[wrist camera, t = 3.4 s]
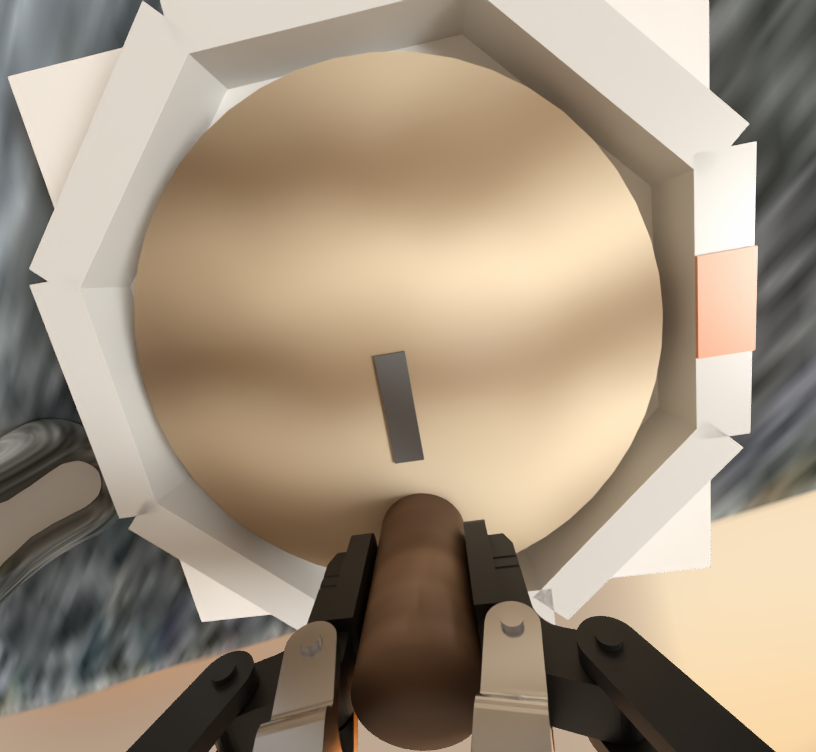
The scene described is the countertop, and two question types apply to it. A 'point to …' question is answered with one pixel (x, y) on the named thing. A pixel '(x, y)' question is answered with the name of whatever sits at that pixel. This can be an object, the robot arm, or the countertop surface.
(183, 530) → the dial housing
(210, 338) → the dial
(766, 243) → the countertop surface
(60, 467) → the beer glass
